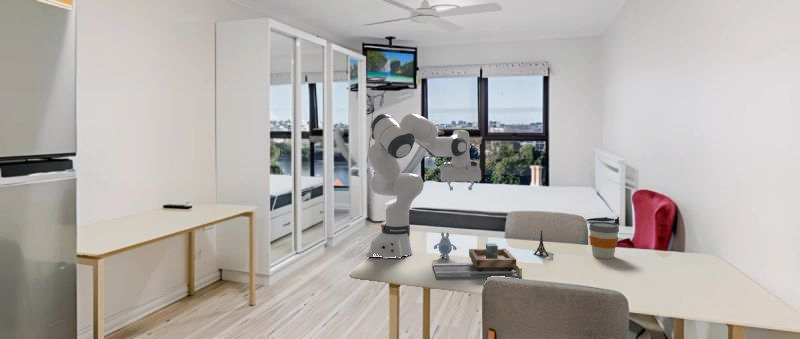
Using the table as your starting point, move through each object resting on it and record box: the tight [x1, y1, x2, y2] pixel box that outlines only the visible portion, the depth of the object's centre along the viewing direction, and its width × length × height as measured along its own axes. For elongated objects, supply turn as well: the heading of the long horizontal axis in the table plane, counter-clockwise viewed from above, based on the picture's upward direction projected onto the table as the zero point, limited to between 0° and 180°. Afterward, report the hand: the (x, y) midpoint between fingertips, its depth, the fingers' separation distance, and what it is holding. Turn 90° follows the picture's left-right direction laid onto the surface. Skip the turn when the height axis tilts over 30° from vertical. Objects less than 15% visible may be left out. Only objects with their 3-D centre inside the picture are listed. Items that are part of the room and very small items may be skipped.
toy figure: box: [433, 231, 458, 259], centre depth 199 cm, size 11×6×12 cm, turn 77°
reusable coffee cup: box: [588, 221, 620, 259], centre depth 200 cm, size 13×12×15 cm
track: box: [431, 262, 523, 280], centre depth 179 cm, size 34×18×4 cm, turn 91°
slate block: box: [485, 242, 499, 259], centre depth 179 cm, size 4×4×6 cm
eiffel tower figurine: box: [532, 229, 555, 261], centre depth 202 cm, size 15×10×13 cm
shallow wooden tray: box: [468, 248, 517, 272], centre depth 179 cm, size 16×16×6 cm
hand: (460, 190), depth 215 cm, fingers open, 8 cm apart
